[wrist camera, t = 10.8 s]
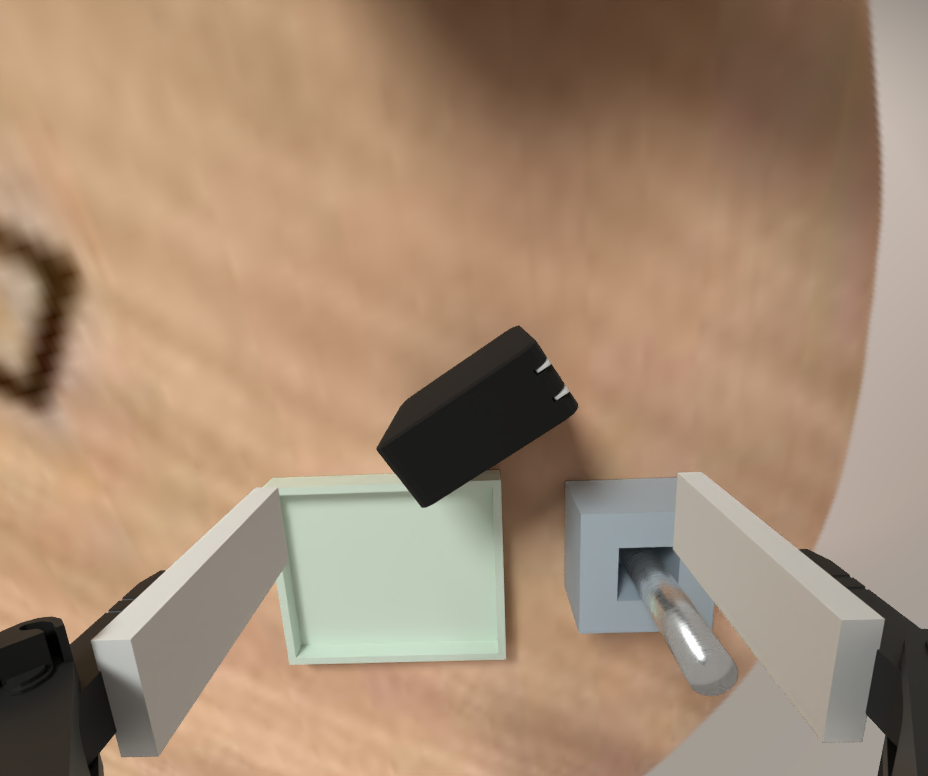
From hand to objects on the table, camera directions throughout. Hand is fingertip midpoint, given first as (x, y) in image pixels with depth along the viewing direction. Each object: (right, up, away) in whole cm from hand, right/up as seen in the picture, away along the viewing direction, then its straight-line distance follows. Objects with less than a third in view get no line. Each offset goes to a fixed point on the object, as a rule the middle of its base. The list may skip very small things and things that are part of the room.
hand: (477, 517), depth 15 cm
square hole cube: (+12, -7, +20) cm, 24 cm away
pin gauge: (+12, -7, +19) cm, 23 cm away
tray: (-6, -10, +21) cm, 24 cm away
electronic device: (0, +4, +18) cm, 18 cm away
